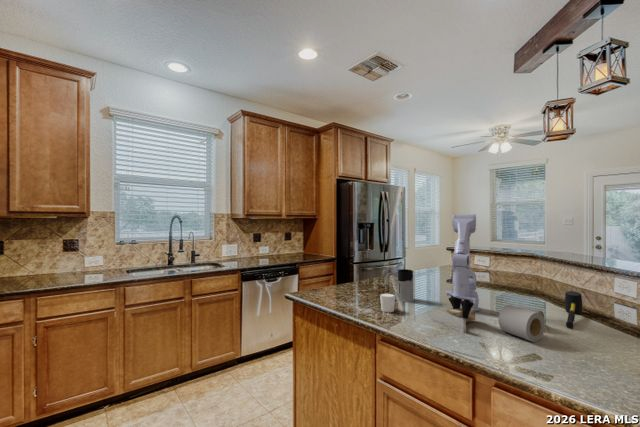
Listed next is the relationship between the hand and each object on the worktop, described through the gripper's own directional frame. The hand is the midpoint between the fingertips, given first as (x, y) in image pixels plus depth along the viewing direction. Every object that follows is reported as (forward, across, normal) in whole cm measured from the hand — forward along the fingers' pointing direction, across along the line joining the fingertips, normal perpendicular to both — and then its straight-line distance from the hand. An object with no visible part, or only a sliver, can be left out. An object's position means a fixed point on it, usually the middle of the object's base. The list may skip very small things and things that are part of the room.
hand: (461, 316), depth 125 cm
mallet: (+3, +17, +46) cm, 49 cm away
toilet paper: (+3, +19, +8) cm, 21 cm away
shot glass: (+3, -26, -17) cm, 31 cm away
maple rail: (+2, 0, 0) cm, 2 cm away
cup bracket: (+2, 0, -6) cm, 7 cm away
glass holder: (+3, -38, 0) cm, 38 cm away
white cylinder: (+3, +13, +22) cm, 26 cm away
